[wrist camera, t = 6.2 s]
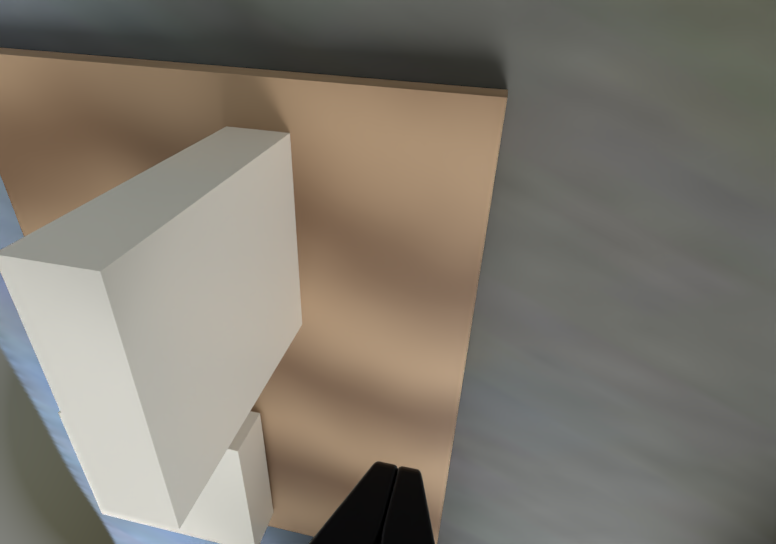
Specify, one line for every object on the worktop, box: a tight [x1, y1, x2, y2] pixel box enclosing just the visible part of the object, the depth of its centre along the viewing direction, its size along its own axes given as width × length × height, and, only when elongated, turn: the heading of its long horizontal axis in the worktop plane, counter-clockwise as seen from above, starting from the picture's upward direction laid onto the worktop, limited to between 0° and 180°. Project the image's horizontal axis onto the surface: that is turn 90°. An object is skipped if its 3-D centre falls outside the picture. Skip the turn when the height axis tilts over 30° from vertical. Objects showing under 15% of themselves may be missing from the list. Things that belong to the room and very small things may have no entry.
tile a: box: [58, 411, 273, 544], centre depth 23 cm, size 7×2×8 cm
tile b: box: [0, 126, 302, 529], centre depth 13 cm, size 7×2×8 cm, turn 178°
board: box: [0, 48, 508, 544], centre depth 20 cm, size 22×17×1 cm
